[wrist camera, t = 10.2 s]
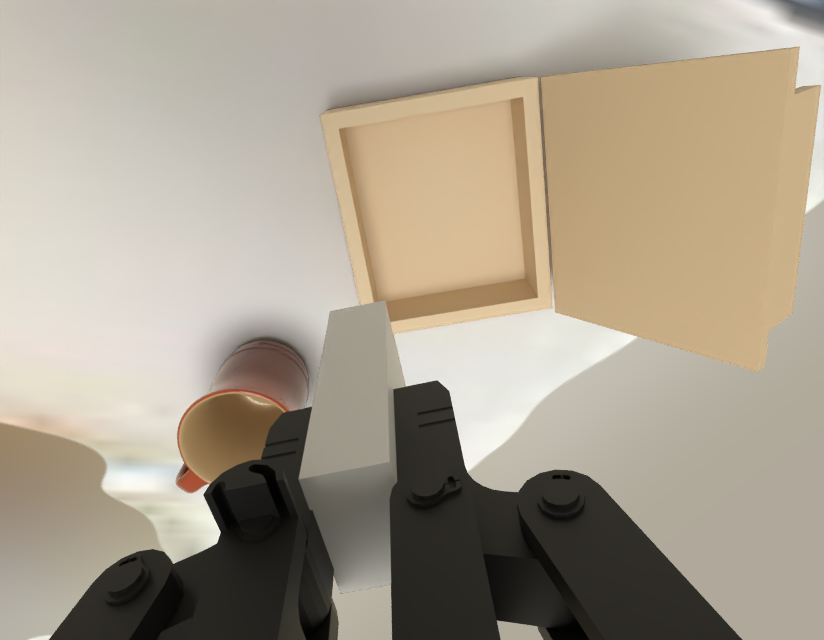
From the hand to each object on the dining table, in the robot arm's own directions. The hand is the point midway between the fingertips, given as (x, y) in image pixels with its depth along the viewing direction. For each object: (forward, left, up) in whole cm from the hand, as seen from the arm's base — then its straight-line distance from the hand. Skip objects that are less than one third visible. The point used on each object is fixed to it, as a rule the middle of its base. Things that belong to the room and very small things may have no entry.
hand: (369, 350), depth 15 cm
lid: (+3, +15, -18) cm, 24 cm away
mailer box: (+3, +4, -30) cm, 30 cm away
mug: (+16, -14, -30) cm, 37 cm away
